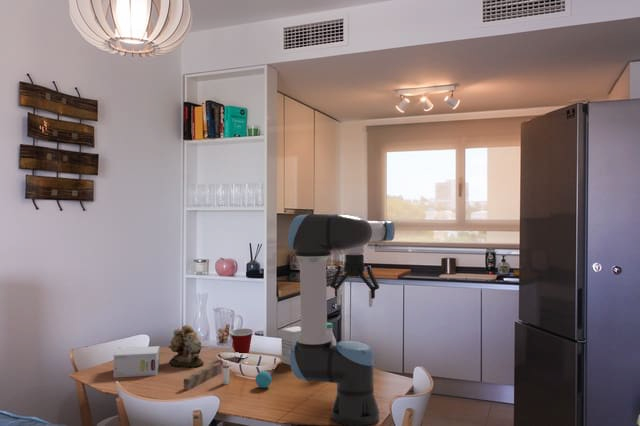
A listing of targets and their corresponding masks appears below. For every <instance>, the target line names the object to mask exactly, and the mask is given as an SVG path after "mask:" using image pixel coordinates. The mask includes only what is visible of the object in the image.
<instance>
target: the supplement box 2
mask: <svg viewBox="0 0 640 426" xmlns="http://www.w3.org/2000/svg"><path fill="white" fill-rule="evenodd" d="M280 334H281V336H280V337H281V363H282V364H285V365H289V366H291V365H290V353H291V348H292V346H293V344H294V343H296V339H297V338H298V337H299V336H300V335H301V326H298V325H297V326H290V327H285V328H281V333H280Z"/></svg>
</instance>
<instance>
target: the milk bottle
mask: <svg viewBox="0 0 640 426" xmlns="http://www.w3.org/2000/svg"><path fill="white" fill-rule="evenodd" d="M333 327H334V324H333V323H332V322H327V334H328V335H329V336H330V337H331V338H332V345H334V346H336V345H337V340H336V337H335V336H334V333H333V329H334V328H333Z"/></svg>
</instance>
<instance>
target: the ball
mask: <svg viewBox="0 0 640 426" xmlns="http://www.w3.org/2000/svg"><path fill="white" fill-rule="evenodd" d="M272 380H273V378H272V376H271V373H270V372H267V371H266V370H265V371H264V370H263V371H259V372H258V373H257V374H256V376H255V383H256V385H257V386H258V387H259V388H262V389H265V388H268V387H269V386H270V385H271V384H272Z"/></svg>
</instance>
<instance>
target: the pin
mask: <svg viewBox="0 0 640 426" xmlns="http://www.w3.org/2000/svg"><path fill="white" fill-rule="evenodd" d="M222 384H223V385H229V384H230V361H229V360H222Z"/></svg>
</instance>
